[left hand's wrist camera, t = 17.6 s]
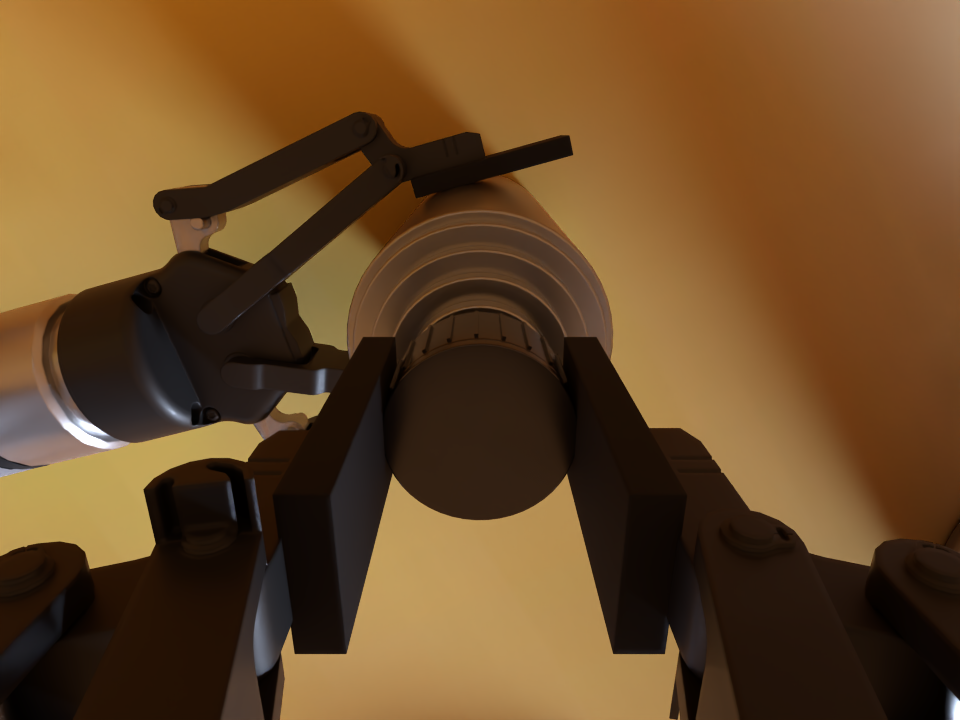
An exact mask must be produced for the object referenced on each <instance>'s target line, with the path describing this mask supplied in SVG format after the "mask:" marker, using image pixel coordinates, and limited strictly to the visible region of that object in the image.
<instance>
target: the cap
mask: <svg viewBox="0 0 960 720" xmlns="http://www.w3.org/2000/svg"><path fill="white" fill-rule="evenodd" d="M567 385H569V383H568V380H567V377H566V374H565V371H564V368H563V366H562V363H561V360H560V357H559V355H558V354H555V353H554V351H553V350H552V348H551V347H550V346H549V344H548V343H547V341H546V338H545V337H544V336H540V335H539V334H538V333H537V332H536V331H535V330H533V329H532V328H530V327H529V326H528V325H527V323H526V322H524V321H523V322H520V321H518V320H516V319H513V318H511V317H508V316H504V314H503V313H500V314H496V313H487V312H479V311H475V312H472V313H465V314H459V315H456V316H454V314H453V315H450V317H449V318H447V319H444V320H442V321H440V322H438V323H436V324H434V325H433V326H432V325H429V326H428V329H427V330H425V331H424V332H423V333H422V334H420V335H419V336H418V337H417V338H416V339H415V341H414V340H412V341H411V342H410V345H409V348H408V350H407V351H406V353H405V355H404V356H403V358H402V359H399V361H398V363H397V366H396V369H395V372H394V374H393V377H392V380H391V383H390V386H389V388H388V390H389V391H390V394H389V397H388V400H387V403H386V406H385V408H384V413H383V436H384V451H385V457H386V460H387V463H388V465H389V467H390V469H391V471H392V473H393V474H394V476H395V477H396V479H397V480H398V481H399V483H400V484H401V485H402V487H403V488H404V489H405V490H406V491H407V492H408V493H409V494H410V495H412V496H413V497H414V498H415V499H417V500H418V501H419V502H421V503H422V504H424V505H426V506H427V507H429V508H431V509H433V510H435V511H438V512H440V513H443V514H446V515H449V516H452V517H457V518H462V519H470V520H491V519H498V518H503V517H507V516H511V515H514V514H517V513H520V512H522V511H525V510H527V509H529V508H531V507H532V506H534V505H536V504H537V503H539V502H540V501H542V500H543V499H545V498H546V497H547V496H548V495H549V494H550V493H552V492H553V491H554V489H555V488H556V487H557V486H558V485H559V484H560V483H561V481H562V480H563V478H564V477H565V476H566V474H567V472H568V471H569V469H570V467H571V465H572V463H573V460H574V457H575V445H576V429H577V413H576V409H575V406H574V403H573V400H572V397H571V394H570V391H569V388H568V386H567Z"/></svg>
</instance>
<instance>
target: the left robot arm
mask: <svg viewBox="0 0 960 720" xmlns="http://www.w3.org/2000/svg"><path fill="white" fill-rule="evenodd" d="M396 366H397V357H396V337H363V338H362V339H361V341H360V343H359V345H358V346H357V348H356V350H355V352H354V353H353V355H352V357H351V359H350V360H349V362H348V364H347V366H346V367H345V369H344V371H343V373H342V374H341V376H340V378H339V380H338V381H337V383H336V385H335V387H334V388H333V390H332V392H331V394H330V395H329V397H328V399H327V400H326V402H325V404H324V406H323V407H322V409H321V411H320V413H319V414H318V416H317V418H316V420H315V421H314V423H313V425H312V427H311V428H310V430H279V431H278V432H276V433H274V434H273V435H271V436H270V437H268V438H267V439H265V440H264V441H262V442H261V443H259V444H258V446H257V447H256V449H255V450H254V451H253V453H252V454H251V456H250V457H249V458H248V462H246V463H245V462H243V461H239V460H235V459H231V458H209V459H203V460H198V461H192V462H188V463H186V464H183V465H180V466H177V467H174V468H171V469H169V470H168V471H166V472H164V473H162V474H161V475H159V476H157V477H156V478H154V479H153V480H152V481H151V482H150V483H149V484H148V485H147V486H146V487H145V488H144V489H143V490H144V494H145V498H146V503H147V507H148V511H149V516H150V520H151V525H152V529H153V533H154V538H155V542H156V545H155V547H154V549H153V551H152V553H151V556H148V557H145V558H141V559H137V560H133V561H128V562H123V563H118V564H113V565H108V566H103V567H98V568H93V569H90V568H89V565H88V561H87V558H86V554H85V552H84V551H83V550H82V549H81V548H80V547H78V546H77V545H76V544H71V543H65V542H49V543H38V544H33V545H28V546H27V547H21V548H18V549H15V550H12V551H10V552H8V553H7V554H4V555H2V556H0V720H280V713H281V705H282V696H283V688H284V680H285V678H284V671H283V663H282V657H281V650H282V647H283V645H284V642H285V640H286V637H287V634H288V632H289V629H290V627H291V631H292V638H293V645H294V652H295V654H346V653H347V649H348V645H349V641H350V637H351V634H352V630H353V626H354V622H355V618H356V614H357V610H358V606H359V602H360V598H361V595H362V591H363V587H364V583H365V579H366V575H367V571H368V567H369V563H370V559H371V555H372V552H373V548H374V544H375V540H376V536H377V532H378V528H379V524H380V520H381V516H382V513H383V509H384V505H385V501H386V497H387V493H388V489H389V485H390V481H391V477H392V471H391V469H390V467H389V465H388V463H387V460H386V457H385V451H384V436H383V413H384V408H385V406H386V403H387V400H388V397H389V394H390V391H389V390H388V388H389V386H390V383H391V380H392V377H393V374H394V372H395V369H396ZM563 368H564V371H565V374H566V377H567V380H568V383H569V385H567V386H568V388H569V391H570V394H571V397H572V400H573V403H574V406H575V409H576V413H577V429H576V445H575V457H574V460H573V463H572V465H571V467H570V469H569V471H568V472H567V475H568V479H569V483H570V487H571V491H572V495H573V498H574V502H575V506H576V510H577V514H578V518H579V522H580V526H581V530H582V534H583V537H584V541H585V545H586V549H587V553H588V557H589V561H590V565H591V569H592V573H593V577H594V580H595V584H596V588H597V592H598V596H599V600H600V604H601V608H602V612H603V616H604V620H605V623H606V627H607V631H608V635H609V639H610V643H611V647H612V651H613V654H665V649H666V642H667V635H668V628H669V625H670V627H671V630H672V632H673V635H674V638H675V640H676V643H677V645H678V648H679V657H678V663H677V670H676V677H675V683H674V690H673V696H672V703H671V710H670V717H669V718H670V719H676V720H678V714H679V712H680V720H960V522H959V524H958V525H957V527H956V528H955V529H954V531H953V532H952V534H951V536H950V538H949V539H948V541H947V543H946V545H945V546H942V545H939V544H933V543H932V542H927V541H920V540H909V539H896V540H890V541H885V542H883V543H882V544H881V545H880V546H878V547H877V548H876V549H875V552H874V556H873V559H872V563H871V566H865V565H860V564H855V563H850V562H845V561H840V560H835V559H830V558H825V557H822V556H818V555H814V554H810V553H809V552H808V550H807V548H806V546H805V544H804V542H803V541H802V540H801V539H800V537H799V536H798V535H797V534H796V532H795V531H794V530H792V529H791V528H789V527H788V526H786V525H785V524H784V523H782V522H781V521H779V520H777V519H774V518H772V517H770V516H767V515H765V514H762V513H760V512H755V511H750V509H749V508H748V507H747V505H746V504H745V502H744V501H743V500H742V498H741V497H740V495H739V494H738V493H737V491H736V490H735V488H734V487H733V486H732V484H731V483H730V482H729V480H728V479H727V477H726V476H725V475H724V473H721V469H720V468H719V466H718V465H717V463H716V462H715V461H714V460H712V456H711V455H710V454H709V452H708V451H707V449H706V448H705V447H704V445H703V444H702V442H701V441H699V440H698V439H696V438H695V437H693V436H692V435H690V434H688V433H687V432H685V431H684V430H682V429H681V428H649V427H648V426H647V424H646V422H645V420H644V419H643V417H642V415H641V413H640V412H639V410H638V408H637V406H636V405H635V403H634V401H633V399H632V398H631V396H630V394H629V393H628V391H627V389H626V387H625V386H624V384H623V382H622V380H621V379H620V377H619V375H618V373H617V372H616V370H615V368H614V366H613V365H612V363H611V361H610V359H609V358H608V356H607V354H606V352H605V351H604V349H603V347H602V345H601V344H600V342H599V340H598V338H597V337H564V349H563Z"/></svg>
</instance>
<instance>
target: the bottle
mask: <svg viewBox="0 0 960 720" xmlns="http://www.w3.org/2000/svg"><path fill="white" fill-rule="evenodd" d="M475 311H479V312H487V313H496V314H500V313H503V314H504V316H508V317H511V318H513V319H516V320H518V321H520V322H523V321H524V322H526V323H527V325H528V326H529V327H530V328H532V329H533V330H535V331H536V332H537V333H538V334H539V335H540V336H544V337H545V338H546V341H547V343H548V344H549V346H550V347H551V348H552V350H553V351H554V353H555V354H558V355H559V357H560V360H561V363H562V366H563V349H564V337H597V338H598V340H599V342H600V344H601V345H602V347H603V349H604V351H605V352H606V354H607V356H608V358H609V359H610V358H611V353H612V345H613V326H612V316H611V311H610V307H609V303H608V299H607V296H606V294H605V291H604V289H603V286H602V284H601V281H600V280H599V278H598V276H597V274H596V273H595V271H594V269H593V267H592V266H591V265H590V264H589V262H588V261H587V260H586V258H585V257H584V256H583V254H582V253H581V252H580V251H579V250H578V249H577V247H576V246H575V245H574V244H573V243H572V241H571V240H570V239H569V238H568V237H567V236H566V234H565V233H564V232H563V231H562V230H561V229H560V227H559V226H558V225H557V224H556V223H555V221H554V220H553V219H552V218H551V217H550V216H549V214H548V213H547V212H546V211H545V210H544V209H543V207H542V206H541V205H540V204H539V203H538V202H537V200H536V199H535V198H534V197H533V196H532V195H531V194H530V193H529V192H528V191H527V190H526V189H525V188H523V187H522V186H521V185H519V184H518V183H516V182H514V181H512V180H511V179H508V178H505V177H503V176H500V175H499V176H495V177H492V178H488V179H484V180H481V181H477V182H473V183H470V184H466V185H463V186H459V187H455V188H452V189H448V190H444V191H441V192H437V193H433V194H430V195H428V196H427V197H426V198H425V199H424V200H423V202H422V203H421V204H420V205H419V206H418V208H417V209H416V210H415V211H414V212H413V213H412V215H411V216H410V217H409V218H408V219H407V220H406V222H405V223H404V224H403V225H402V226H401V228H400V229H399V230H398V231H397V232H396V233H395V235H394V236H393V237H392V238H391V239H390V240H389V242H388V243H387V244H386V245H385V246H384V248H383V249H382V250H381V251H380V252H379V253H378V255H377V256H376V257H375V258H374V259H373V260H372V262H371V263H370V265H369V266H368V268H367V269H366V271H365V272H364V274H363V276H362V277H361V280H360V282H359V284H358V286H357V288H356V290H355V293H354V296H353V299H352V303H351V306H350V310H349V317H348V323H347V345H348V354H349V359H351V357H352V355H353V353H354V352H355V350H356V348H357V346H358V345H359V343H360V341H361V339H362V338H363V337H396V357H397V363H398V361H399V359H402V358H403V356H404V355H405V353H406V351H407V350H408V348H409V345H410V342H411V341H412V340H414V341H415V339H416V338H417V337H418V336H419V335H420V334H422V333H423V332H424V331H425V330H427V329H428V326H429V325H432V326H433V325H434V324H436V323H438V322H440V321H442V320H444V319H447V318H449V317H450V315H453V314H454V316H456V315H459V314H465V313H472V312H475Z"/></svg>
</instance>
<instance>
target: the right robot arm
mask: <svg viewBox="0 0 960 720" xmlns="http://www.w3.org/2000/svg"><path fill="white" fill-rule="evenodd" d="M359 151H362V152H363V154H364V155H365V156H366V158H367V159H368V161H369V162H370V163H371V165H372V166H370V167H369V168H368V169H367V170H366V171H365V172H363V173H362V174H361V175H360V176H359V177H358V178H356V179H355V180H354V181H353V182H352V183H351V184H349V185H348V186H347V187H346V188H345V189H343V190H342V191H341V192H340V193H339V194H338V195H336V196H335V197H334V198H333V199H332V200H331V201H329V202H328V203H327V204H326V205H325V206H324V207H322V208H321V209H320V210H319V211H318V212H317V213H315V214H314V215H313V216H312V217H311V218H310V219H308V220H307V221H306V222H305V223H304V224H303V225H301V226H300V227H299V228H298V229H297V230H296V231H294V232H293V233H292V234H291V235H290V236H288V237H287V238H286V239H285V240H284V241H283V242H281V243H280V244H279V245H278V246H277V247H276V248H274V249H273V250H272V251H271V252H270V253H268V254H267V255H266V256H264V257H263V258H262V259H260V260H259V261H258V262H257V263H256V264H252V263H250V262H247V261H244V260H241V259H239V258H236V257H233V256H230V255H228V254H225V253H222V252H219V251H217V250H214V249H211V248H209V245H208V242H209V238H210V237H211V235H212V234H214V233H216V232H218V231H221V230H222V229H224V227H225V226H226V222H227V218H226V212H229V211H232V210H235V209H239V208H242V207H245V206H247V205H249V204H252V203H254V202H256V201H258V200H260V199H262V198H264V197H266V196H268V195H270V194H272V193H274V192H277V191H279V190H281V189H283V188H285V187H287V186H289V185H291V184H293V183H295V182H297V181H299V180H301V179H303V178H305V177H307V176H309V175H312V174H314V173H316V172H318V171H320V170H322V169H324V168H326V167H328V166H330V165H332V164H334V163H336V162H338V161H340V160H342V159H344V158H346V157H349V156H351V155H353V154H355V153H357V152H359ZM571 155H573V151H572V146H571V141H570V136H569V135H560V136H556V137H553V138H549V139H546V140H542V141H538V142H535V143H531V144H528V145H524V146H521V147H517V148H513V149H510V150H506V151H503V152H499V153H495V154H492V155H488V156H485V153H484V149H483V145H482V141H481V137H480V134H478V133H470V132H465V133H461V134H458V135H454V136H451V137H447V138H444V139H440V140H437V141H433V142H430V143H426V144H422V145H419V146H415V147H411V148H409V147H404V146H401V145H400V144H398V143H397V142H396V141H395V140H394V138H393V137H392V135H391V134H390V133H389V131H388V130H387V128H386V127H385V125H384V122H383V121H382V119H381V118H380V117H379V116H377V115H375V114H371V113H366V112H356V113H353V114H351V115H349V116H347V117H345V118H343V119H341V120H339V121H337V122H335V123H333V124H331V125H329V126H327V127H325V128H323V129H321V130H319V131H317V132H315V133H313V134H311V135H309V136H307V137H305V138H303V139H301V140H299V141H297V142H295V143H293V144H291V145H289V146H287V147H285V148H283V149H281V150H279V151H277V152H275V153H273V154H271V155H269V156H267V157H265V158H263V159H260V160H258V161H256V162H254V163H252V164H250V165H248V166H246V167H244V168H242V169H240V170H238V171H236V172H234V173H232V174H230V175H228V176H226V177H224V178H222V179H220V180H218V181H216V182H214V183H212V184H205V185H191V186H185V187H180V188H174V189H168V190H163V191H160V192H158V193H157V194H156V195H155V197H154V199H153V207H154V209H155V211H156V213H157V214H158V215H159V216H160V217H162V218H164V219H166V220H170V223H171V227H172V231H173V235H174V239H175V243H176V247H177V251H178V254H176V255H175V256H173V257H172V258H171V259H170V261H169V262H168V263H167V264H166V265H165V266H164V267H163V268H161V269H158V270H155V271H151V272H147V273H144V274H140V275H136V276H133V277H129V278H126V279H122V280H118V281H115V282H111V283H108V284H104V285H100V286H97V287H93V288H90V289H86V290H84V291H82V292H80V293H79V294H68V295H64V296H60V297H57V298H53V299H50V300H46V301H42V302H39V303H35V304H31V305H28V306H24V307H21V308H17V309H13V310H10V311H6V312H2V313H0V477H3V476H6V475H10V474H14V473H18V472H22V471H26V470H29V469H33V468H37V467H42V466H47V465H49V464H53V463H58V462H62V461H66V460H70V459H75V458H79V457H83V456H87V455H92V454H96V453H100V452H104V451H109V450H113V449H117V448H120V447H124V446H127V445H128V444H130V443H138V442H144V441H148V440H152V439H156V438H160V437H164V436H168V435H173V434H177V433H181V432H185V431H189V430H193V429H197V428H201V427H204V426H208V425H211V424H214V423H217V422H221V421H234V422H239V423H243V424H254V426H255V427H256V429H257V430H258V432H259V433H260V435H261V436H262V438H263V439H264V440H265V439H267V438H268V437H270V436H271V435H273V434H274V433H276V432H278V431H279V430H310V428H311V427H312V425H313V423H314V421H315V420H316V418H317V416H314V417H312V418H309V419H307V416H306V415H305V414H304V413H295V414H284V413H281V412H280V411H279V410H278V409H277V408H276V406H277V404H278V403H279V402H280V400H281V399H282V398H283V396H284V395H285V394H286V393H287V392H292V393H300V394H307V395H317V394H320V393H324V392H329V393H331V392H332V390H333V388H334V387H335V385H336V383H337V381H338V380H339V378H340V376H341V374H342V373H343V371H344V369H345V367H346V366H347V364H348V362H349V360H350V359H349V354H348V351H342V350H338V349H337V348H335V347H334V346H331V345H325V344H317V343H314V341H313V339H312V336H311V333H310V331H309V328H308V327H307V326H306V324H305V323H304V321H303V320H302V318H301V317H300V316H299V312H298V303H297V297H296V294H295V291H294V289H293V286H292V284H291V283H286V282H285V280H286V279H287V278H288V277H290V276H291V275H292V274H293V273H294V272H296V271H297V270H298V269H299V268H300V267H302V266H303V265H304V264H305V263H306V262H307V261H309V260H310V259H311V258H312V257H313V256H315V255H316V254H317V253H318V252H319V251H321V250H322V249H323V248H324V247H325V246H326V245H328V244H329V243H330V242H331V241H332V240H334V239H335V238H336V237H337V236H338V235H340V234H341V233H342V232H343V231H344V230H346V229H347V228H348V227H349V226H350V225H352V224H353V223H354V222H355V221H356V220H358V219H359V218H360V217H361V216H362V215H364V214H365V213H366V212H367V211H368V210H370V209H371V208H372V207H373V206H374V205H376V204H377V203H378V202H379V201H380V200H382V199H383V198H384V197H385V196H386V195H388V194H389V193H390V192H391V191H392V190H394V189H395V188H396V187H397V186H398V185H400V184H401V183H402V182H406V181H409V180H411V183H412V186H413V190H414V193H415V197H416V198H419V197H423V196H426V195H430V194H433V193H437V192H441V191H444V190H448V189H452V188H455V187H459V186H463V185H466V184H470V183H473V182H477V181H481V180H484V179H488V178H492V177H495V176H499V175H502V174H506V173H510V172H513V171H517V170H521V169H524V168H528V167H532V166H535V165H539V164H542V163H546V162H550V161H553V160H557V159H561V158H564V157H568V156H571Z"/></svg>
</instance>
